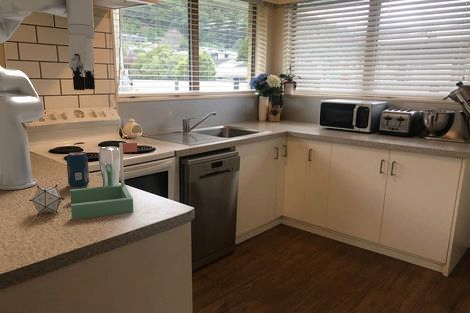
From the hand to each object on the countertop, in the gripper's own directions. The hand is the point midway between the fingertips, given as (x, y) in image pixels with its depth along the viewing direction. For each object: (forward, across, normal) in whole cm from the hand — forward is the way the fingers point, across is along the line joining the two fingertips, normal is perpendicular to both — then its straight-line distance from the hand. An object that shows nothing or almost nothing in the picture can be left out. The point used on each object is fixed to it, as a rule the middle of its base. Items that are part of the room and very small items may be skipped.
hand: (84, 89), depth 114 cm
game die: (+35, +17, -7) cm, 39 cm away
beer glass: (+35, -5, +5) cm, 36 cm away
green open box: (+35, +11, +8) cm, 37 cm away
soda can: (+35, -11, -8) cm, 37 cm away
